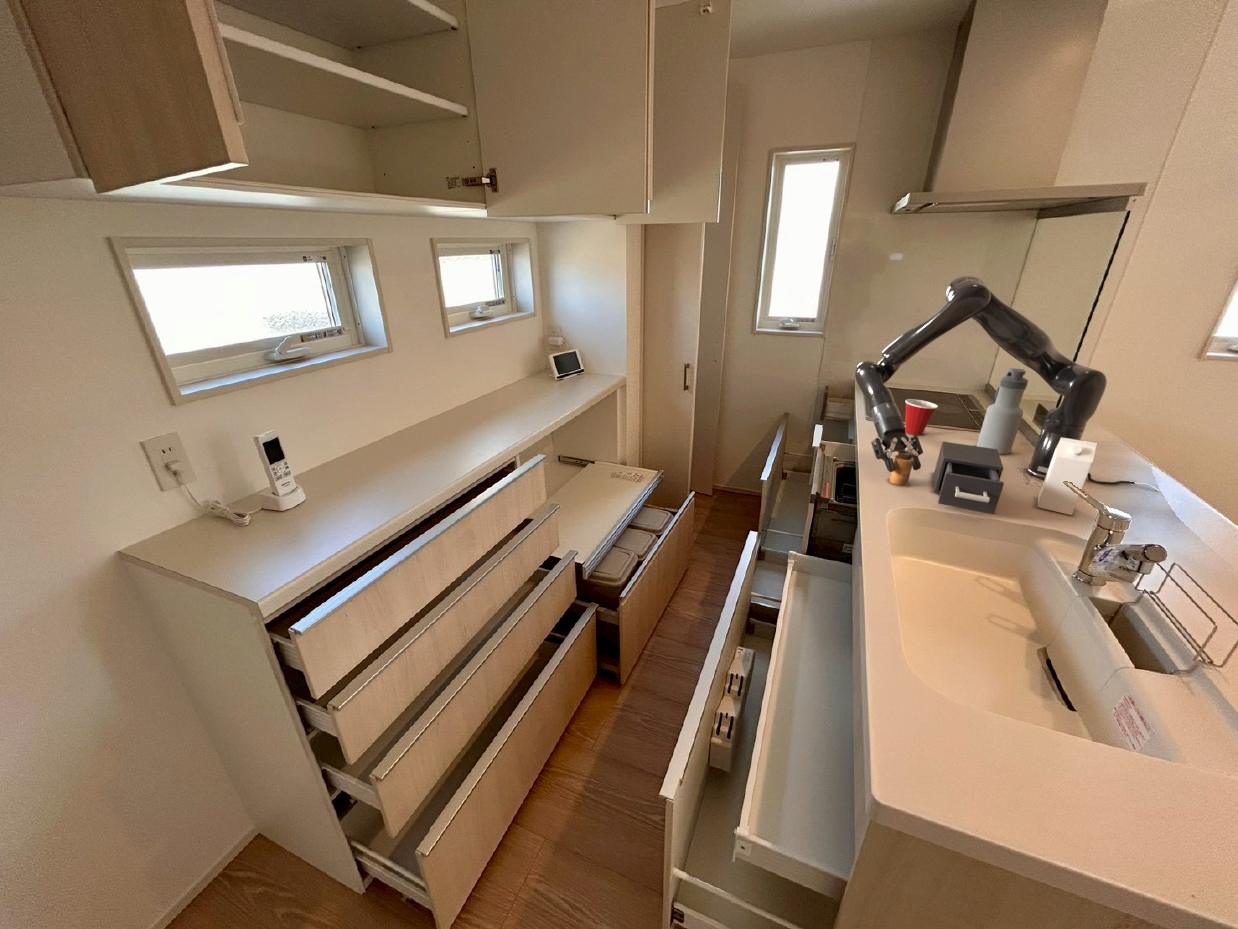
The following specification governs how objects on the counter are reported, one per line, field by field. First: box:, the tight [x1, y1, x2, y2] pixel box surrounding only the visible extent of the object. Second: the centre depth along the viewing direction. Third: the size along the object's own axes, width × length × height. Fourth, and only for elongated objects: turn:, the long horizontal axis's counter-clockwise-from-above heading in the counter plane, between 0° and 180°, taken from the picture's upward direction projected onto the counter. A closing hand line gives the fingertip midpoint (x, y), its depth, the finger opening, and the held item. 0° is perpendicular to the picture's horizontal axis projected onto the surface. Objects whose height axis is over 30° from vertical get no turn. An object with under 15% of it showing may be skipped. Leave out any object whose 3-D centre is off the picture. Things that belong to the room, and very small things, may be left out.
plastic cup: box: [904, 398, 939, 436], centre depth 187 cm, size 11×11×12 cm
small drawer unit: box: [933, 441, 1004, 495], centre depth 143 cm, size 16×14×11 cm
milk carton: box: [1037, 437, 1098, 516], centre depth 130 cm, size 7×7×19 cm
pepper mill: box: [889, 451, 914, 487], centre depth 146 cm, size 5×5×10 cm
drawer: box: [937, 462, 1005, 515], centre depth 133 cm, size 20×12×9 cm, turn 150°
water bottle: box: [976, 367, 1029, 455], centre depth 167 cm, size 10×10×28 cm
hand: (905, 470), depth 145 cm, fingers open, 7 cm apart
